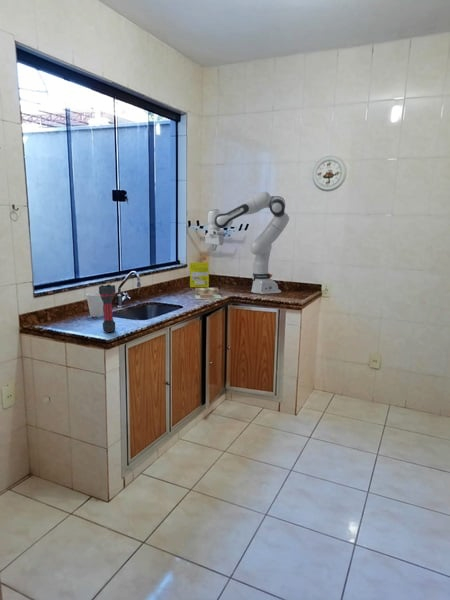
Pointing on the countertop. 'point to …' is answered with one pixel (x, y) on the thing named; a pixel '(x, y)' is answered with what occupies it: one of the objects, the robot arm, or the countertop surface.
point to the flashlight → (107, 306)
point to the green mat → (209, 298)
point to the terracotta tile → (206, 295)
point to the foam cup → (95, 304)
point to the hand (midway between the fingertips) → (214, 250)
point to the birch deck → (206, 291)
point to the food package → (199, 274)
